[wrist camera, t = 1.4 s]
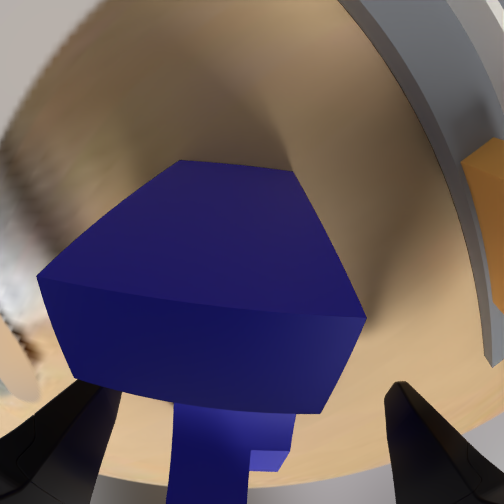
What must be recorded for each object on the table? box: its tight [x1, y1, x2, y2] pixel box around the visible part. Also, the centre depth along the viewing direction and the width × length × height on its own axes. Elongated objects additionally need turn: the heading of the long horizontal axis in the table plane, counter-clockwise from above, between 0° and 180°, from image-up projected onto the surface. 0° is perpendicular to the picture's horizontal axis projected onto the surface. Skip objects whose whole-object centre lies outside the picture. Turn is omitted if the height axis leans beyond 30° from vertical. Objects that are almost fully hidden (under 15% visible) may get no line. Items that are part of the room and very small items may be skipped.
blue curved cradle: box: [36, 160, 367, 504], centre depth 8 cm, size 12×4×6 cm, turn 174°
